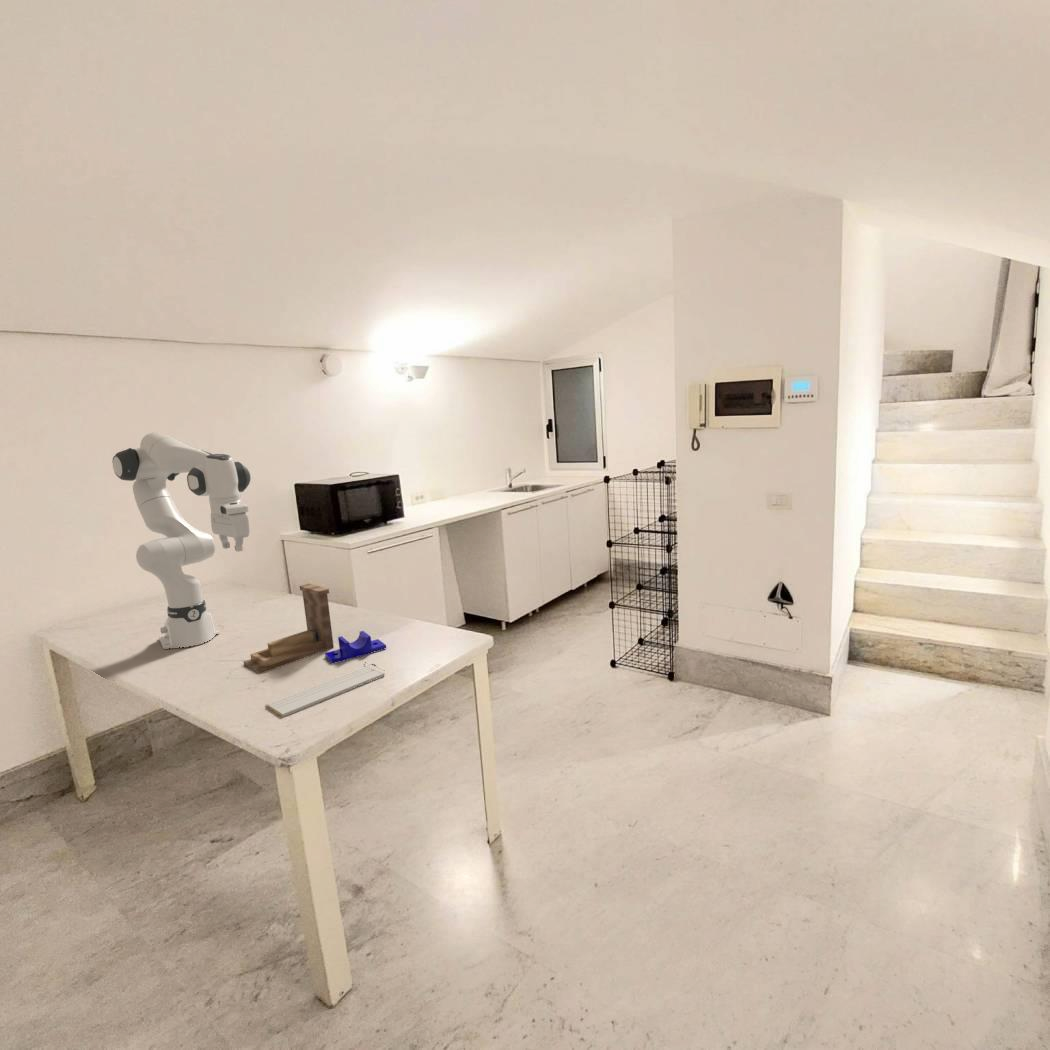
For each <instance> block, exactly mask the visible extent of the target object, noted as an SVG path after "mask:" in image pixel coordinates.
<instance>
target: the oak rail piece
mask: <svg viewBox="0 0 1050 1050" xmlns="http://www.w3.org/2000/svg"><path fill="white" fill-rule="evenodd" d="M314 642H317V640H316V632H315V631H313V630H310V629H309V630H307V629H306V630H305V631H301V632H298V633H295V634H291V635H288V636H286V637H282V638H279V639H275V640H273V641H270V642H267V643H266V644H267V649H268V651H269V658H270V657H273V656H276V655H279V654H282V653H285V652H288V651H291V650H294V649H297V648H300V647H302V646H305V645H308V644H311V643H314Z"/></svg>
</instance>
